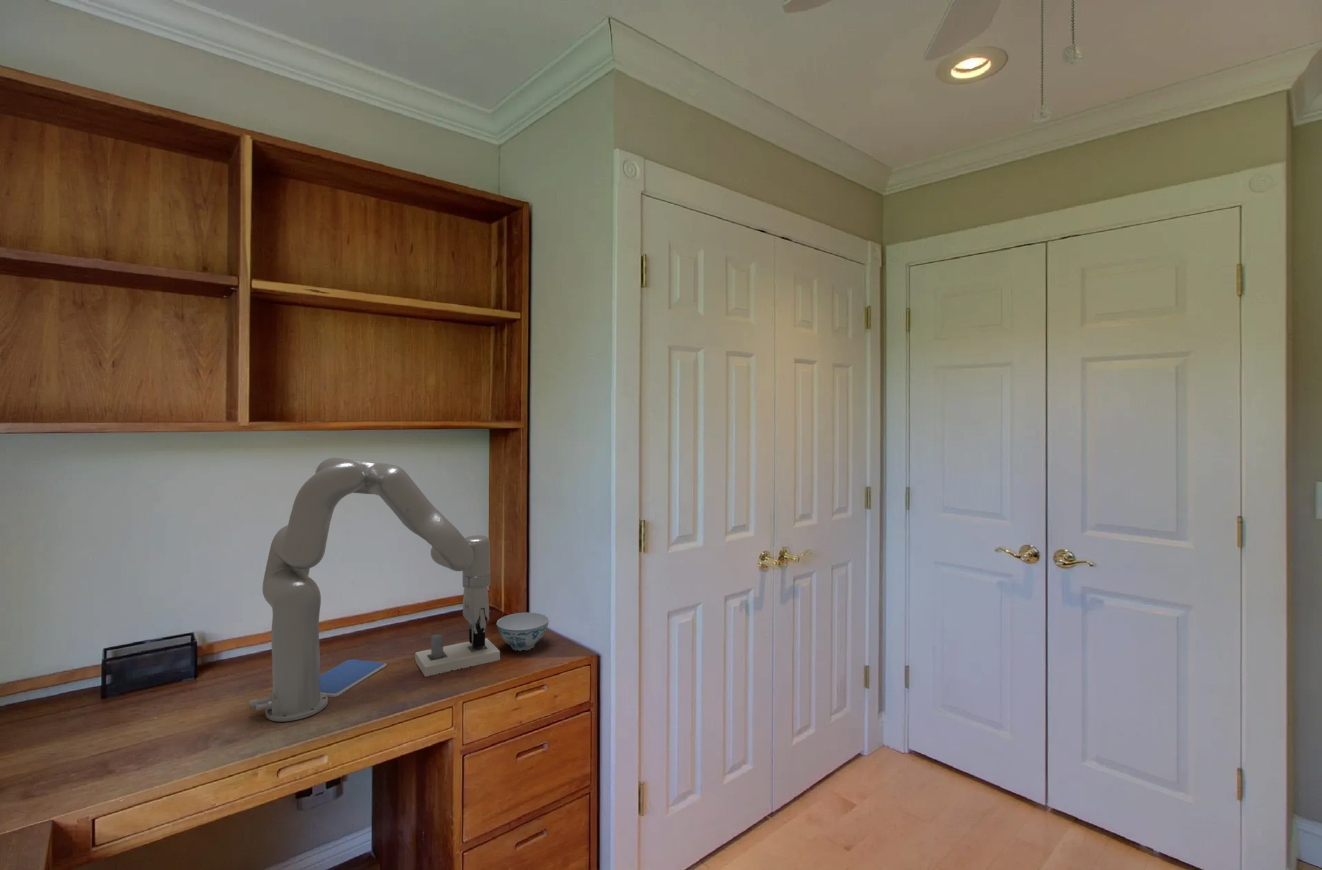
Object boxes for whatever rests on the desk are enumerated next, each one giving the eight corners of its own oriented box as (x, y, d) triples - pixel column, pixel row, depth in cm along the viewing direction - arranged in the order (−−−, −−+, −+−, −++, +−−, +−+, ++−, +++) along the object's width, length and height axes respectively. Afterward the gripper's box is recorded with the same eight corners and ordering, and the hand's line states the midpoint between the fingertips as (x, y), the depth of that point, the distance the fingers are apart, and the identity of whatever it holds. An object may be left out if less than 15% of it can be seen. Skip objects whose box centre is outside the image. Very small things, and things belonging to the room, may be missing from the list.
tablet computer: (335, 699, 151) (335, 694, 151) (292, 694, 154) (292, 688, 154) (388, 667, 170) (388, 662, 170) (349, 663, 173) (349, 658, 173)
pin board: (425, 676, 162) (424, 646, 162) (415, 661, 172) (414, 632, 172) (499, 660, 173) (499, 631, 173) (486, 646, 183) (486, 619, 183)
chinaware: (485, 650, 180) (485, 624, 180) (521, 634, 193) (521, 609, 193) (525, 660, 173) (524, 633, 173) (559, 643, 186) (559, 617, 186)
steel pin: (473, 650, 174) (473, 622, 173) (470, 647, 176) (470, 619, 176) (484, 648, 175) (483, 620, 175) (481, 645, 178) (480, 617, 178)
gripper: (455, 575, 180) (455, 638, 181) (471, 589, 166) (472, 656, 167) (481, 571, 184) (481, 633, 185) (499, 585, 170) (499, 651, 171)
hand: (477, 643), depth 176 cm, fingers closed on steel pin, 3 cm apart
